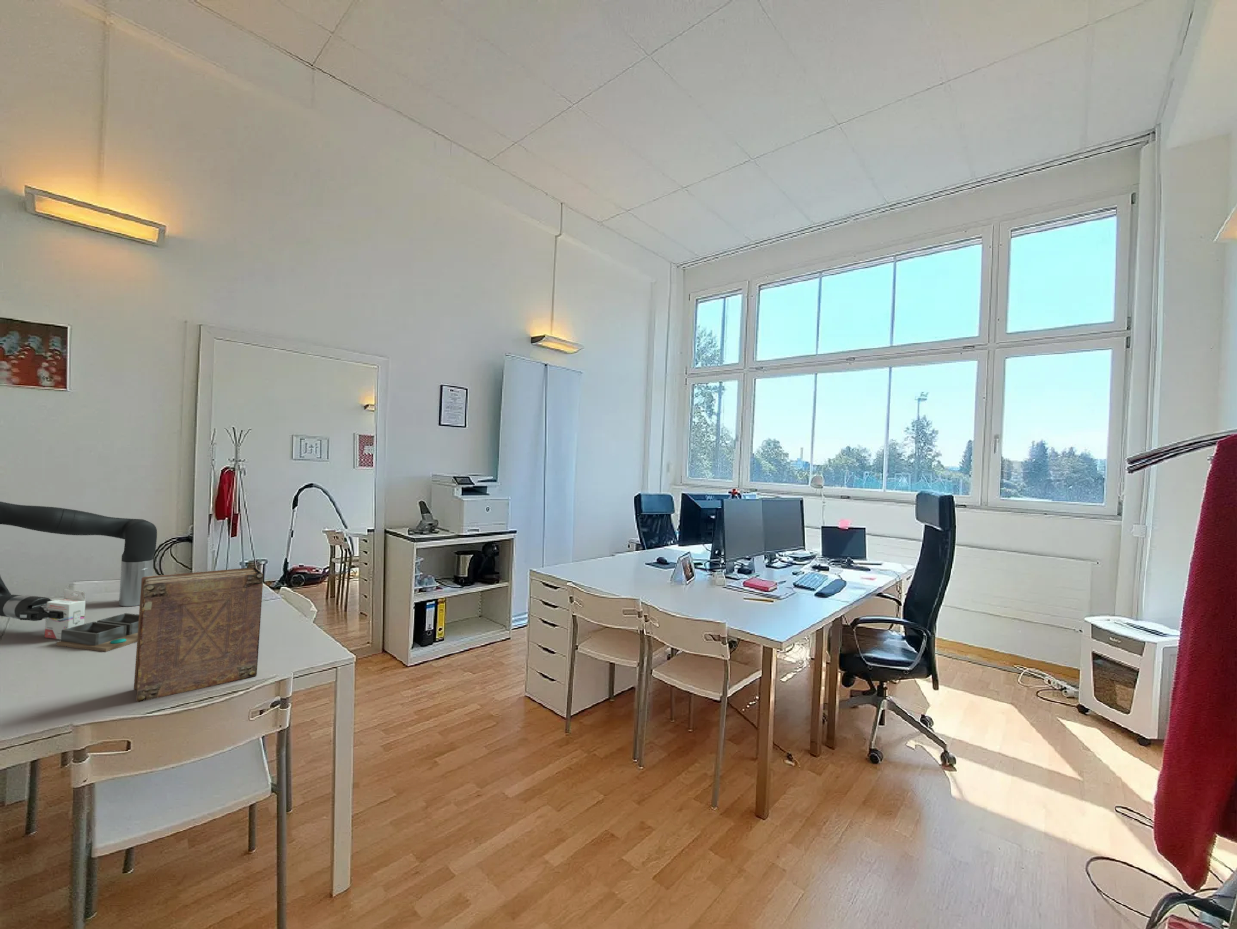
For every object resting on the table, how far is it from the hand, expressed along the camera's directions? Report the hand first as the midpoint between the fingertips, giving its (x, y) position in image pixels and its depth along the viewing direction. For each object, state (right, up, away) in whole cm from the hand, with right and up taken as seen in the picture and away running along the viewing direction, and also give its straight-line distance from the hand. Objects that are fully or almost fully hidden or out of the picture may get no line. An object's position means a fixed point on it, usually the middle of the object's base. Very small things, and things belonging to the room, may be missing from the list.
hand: (72, 612), depth 162 cm
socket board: (+12, -9, +2) cm, 15 cm away
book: (+61, -12, -24) cm, 67 cm away
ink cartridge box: (-3, -8, 0) cm, 9 cm away
